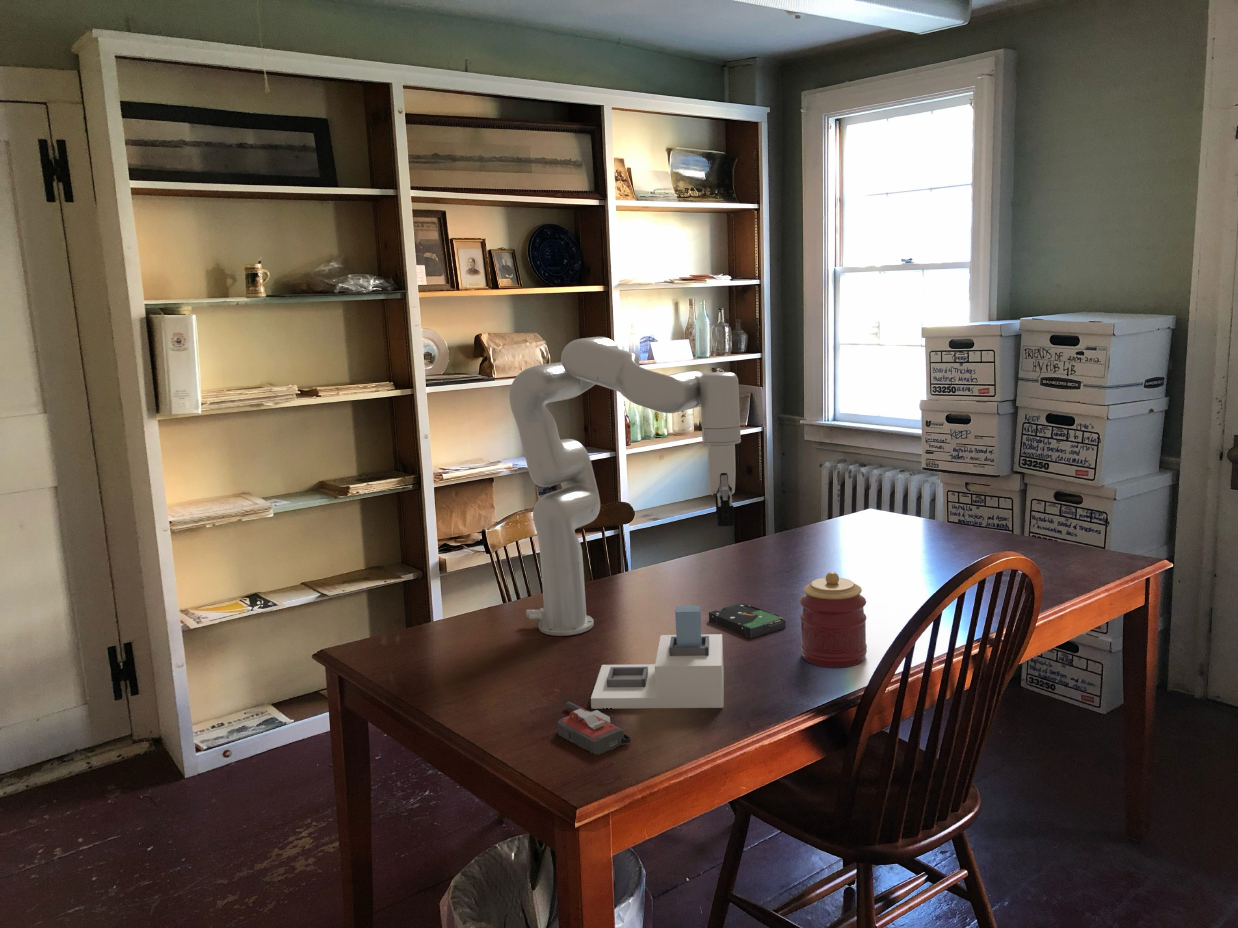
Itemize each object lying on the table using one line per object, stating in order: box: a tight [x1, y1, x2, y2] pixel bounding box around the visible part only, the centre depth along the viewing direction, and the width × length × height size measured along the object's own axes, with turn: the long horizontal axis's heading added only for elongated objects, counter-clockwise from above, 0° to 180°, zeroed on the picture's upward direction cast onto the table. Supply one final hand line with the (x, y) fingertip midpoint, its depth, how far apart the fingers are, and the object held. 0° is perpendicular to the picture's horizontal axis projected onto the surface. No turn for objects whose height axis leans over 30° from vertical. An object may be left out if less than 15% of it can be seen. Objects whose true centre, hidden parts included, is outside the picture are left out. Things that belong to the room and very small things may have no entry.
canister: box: [799, 571, 868, 668], centre depth 193 cm, size 13×13×18 cm
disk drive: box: [708, 602, 787, 639], centre depth 216 cm, size 10×3×15 cm
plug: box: [674, 605, 703, 647], centre depth 180 cm, size 4×4×8 cm
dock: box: [590, 633, 725, 710], centre depth 182 cm, size 24×16×10 cm, turn 84°
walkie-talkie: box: [557, 701, 631, 756], centre depth 167 cm, size 9×4×20 cm
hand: (725, 519), depth 193 cm, fingers open, 9 cm apart
